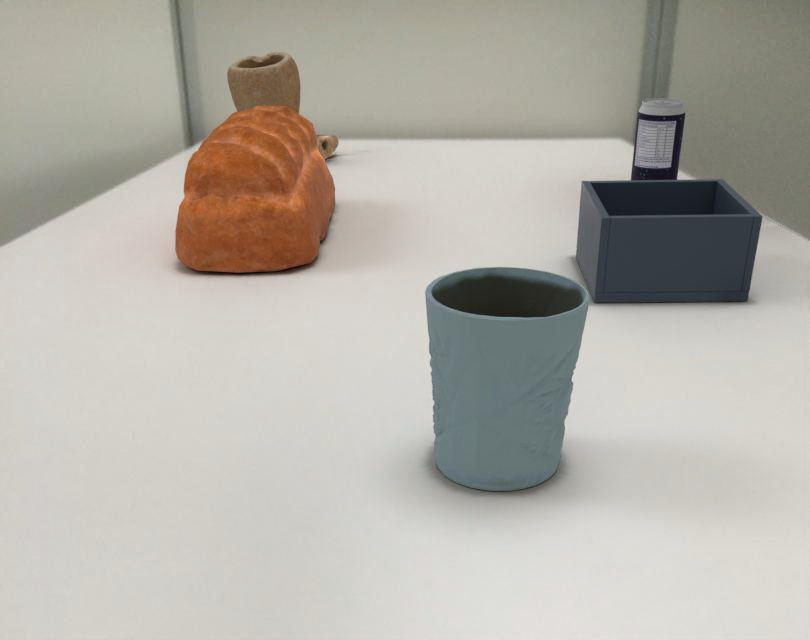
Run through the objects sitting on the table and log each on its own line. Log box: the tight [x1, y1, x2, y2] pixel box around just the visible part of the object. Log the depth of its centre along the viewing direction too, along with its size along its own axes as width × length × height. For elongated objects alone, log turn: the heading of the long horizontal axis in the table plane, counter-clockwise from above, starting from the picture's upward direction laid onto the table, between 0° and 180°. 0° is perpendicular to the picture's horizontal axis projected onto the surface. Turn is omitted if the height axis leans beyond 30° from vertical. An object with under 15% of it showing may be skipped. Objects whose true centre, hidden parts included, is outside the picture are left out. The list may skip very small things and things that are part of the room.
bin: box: [575, 178, 763, 304], centre depth 97 cm, size 15×15×8 cm
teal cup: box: [424, 266, 591, 492], centre depth 63 cm, size 10×10×12 cm
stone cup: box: [226, 51, 340, 161], centre depth 145 cm, size 15×12×15 cm
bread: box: [174, 106, 336, 274], centre depth 112 cm, size 16×31×13 cm, turn 178°
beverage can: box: [630, 97, 686, 180], centre depth 120 cm, size 6×6×12 cm
